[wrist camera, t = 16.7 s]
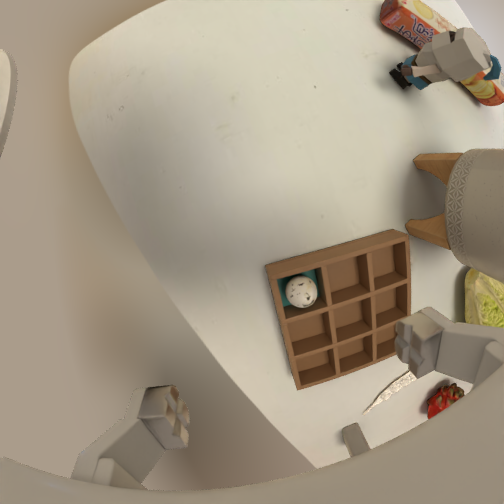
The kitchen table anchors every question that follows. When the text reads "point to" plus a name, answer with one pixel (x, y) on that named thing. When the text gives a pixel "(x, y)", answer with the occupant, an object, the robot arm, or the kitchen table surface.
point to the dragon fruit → (444, 399)
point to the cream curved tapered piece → (394, 388)
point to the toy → (448, 60)
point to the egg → (301, 291)
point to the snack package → (421, 31)
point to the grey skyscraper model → (355, 440)
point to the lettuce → (483, 300)
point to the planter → (468, 208)
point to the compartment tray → (344, 306)
